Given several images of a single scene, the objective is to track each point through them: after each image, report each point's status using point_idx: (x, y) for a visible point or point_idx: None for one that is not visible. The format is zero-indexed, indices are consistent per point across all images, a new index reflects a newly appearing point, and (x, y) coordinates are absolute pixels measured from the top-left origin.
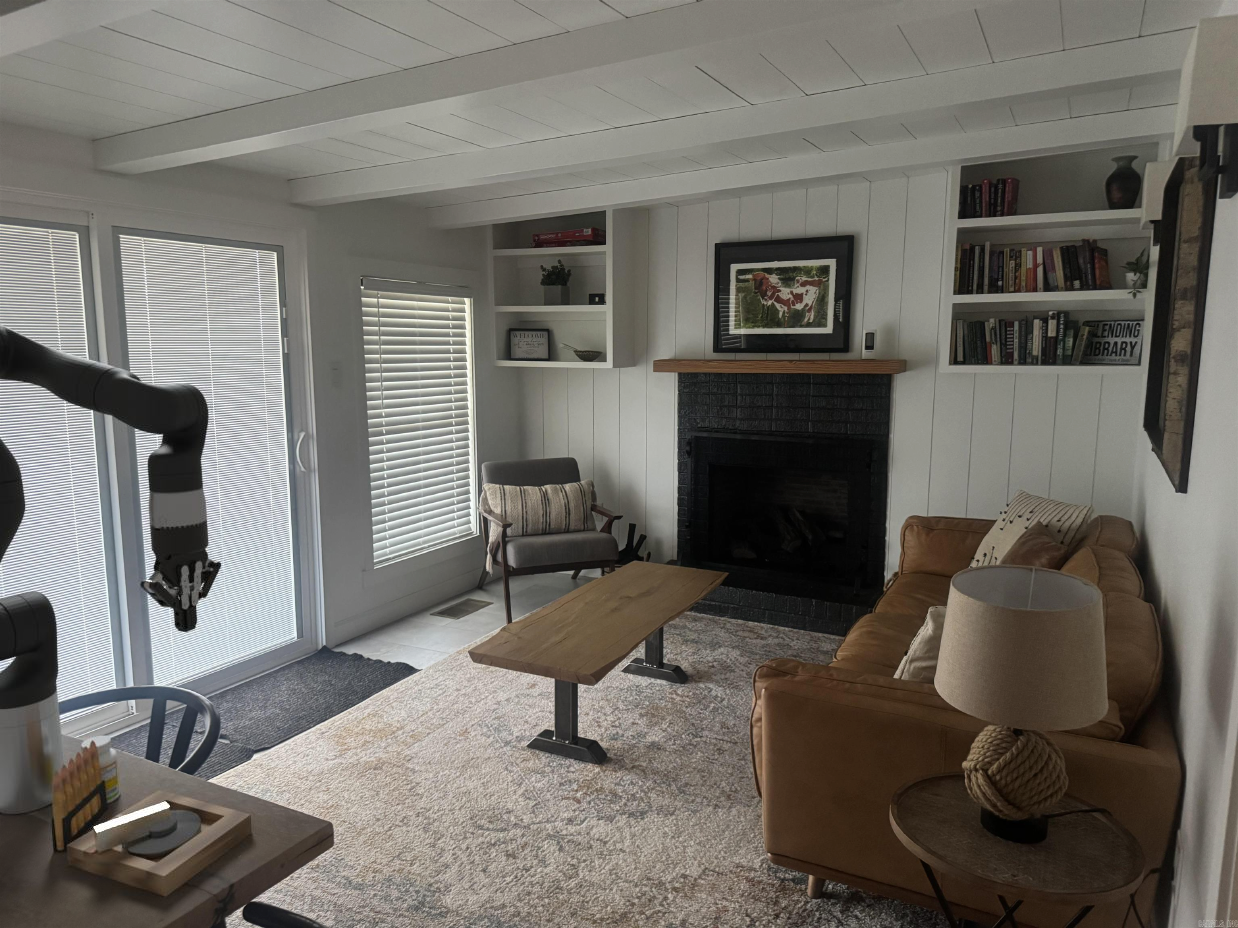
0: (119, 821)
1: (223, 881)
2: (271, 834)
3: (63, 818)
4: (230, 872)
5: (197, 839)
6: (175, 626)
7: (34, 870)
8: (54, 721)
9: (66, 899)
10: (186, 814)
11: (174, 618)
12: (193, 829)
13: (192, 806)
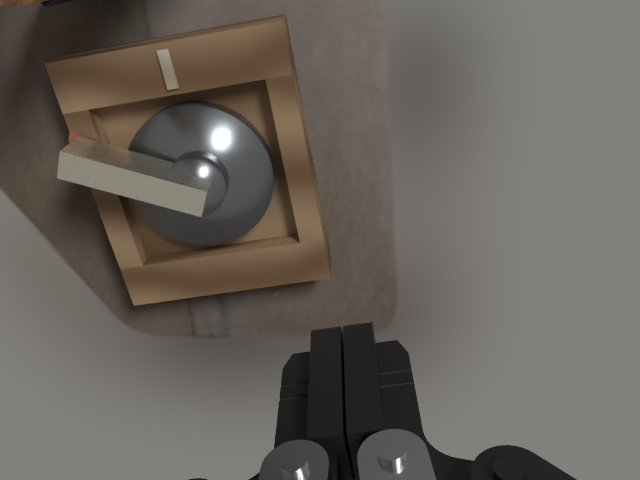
0: (105, 180)
1: (220, 323)
2: (346, 289)
3: (43, 4)
4: (240, 315)
5: (223, 264)
6: (285, 367)
7: (8, 10)
8: None
9: (29, 157)
10: (260, 171)
11: (279, 404)
12: (238, 229)
13: (283, 157)
